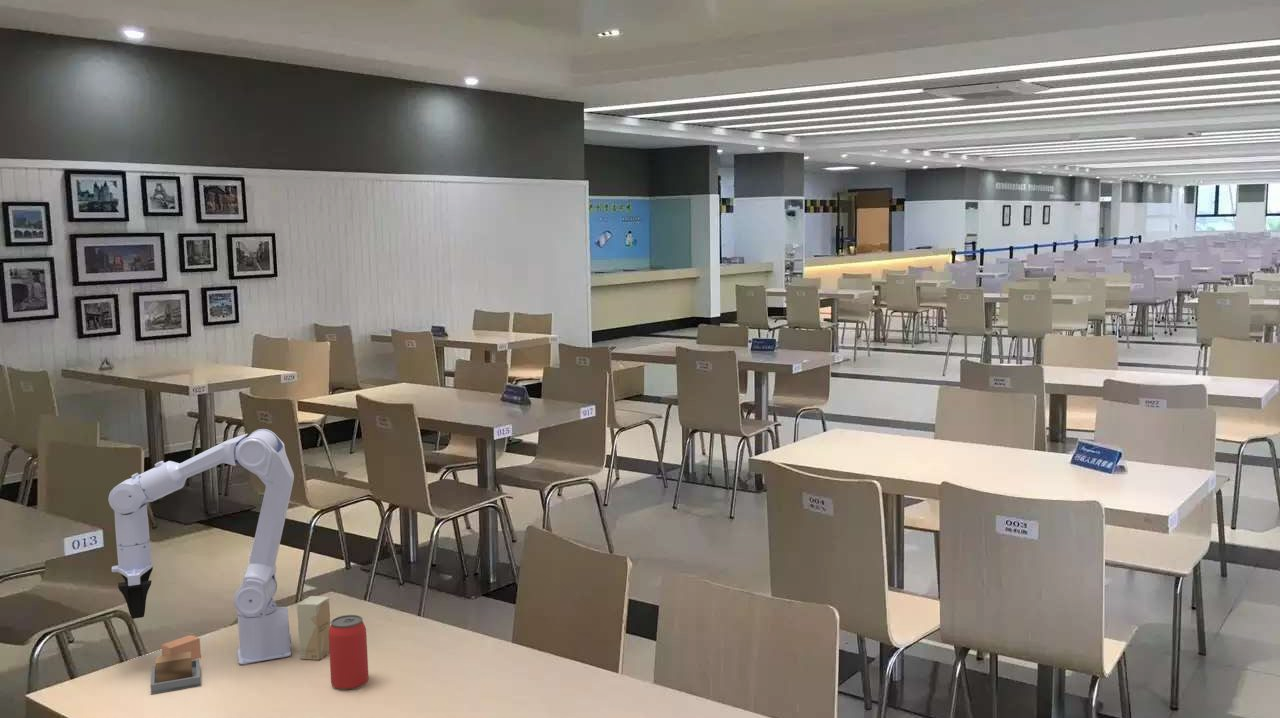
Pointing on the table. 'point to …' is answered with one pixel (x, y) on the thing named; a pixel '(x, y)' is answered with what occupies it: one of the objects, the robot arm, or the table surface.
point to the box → (314, 627)
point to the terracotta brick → (183, 646)
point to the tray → (178, 683)
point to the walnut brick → (173, 667)
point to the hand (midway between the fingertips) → (138, 611)
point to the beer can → (348, 652)
